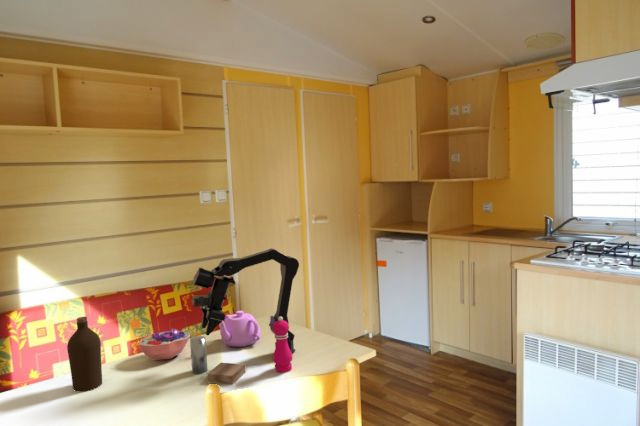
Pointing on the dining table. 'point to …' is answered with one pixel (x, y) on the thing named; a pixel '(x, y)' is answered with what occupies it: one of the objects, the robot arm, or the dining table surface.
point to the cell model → (164, 344)
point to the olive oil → (85, 357)
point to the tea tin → (198, 355)
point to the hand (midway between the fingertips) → (204, 331)
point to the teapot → (239, 329)
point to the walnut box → (226, 373)
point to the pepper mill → (282, 347)
